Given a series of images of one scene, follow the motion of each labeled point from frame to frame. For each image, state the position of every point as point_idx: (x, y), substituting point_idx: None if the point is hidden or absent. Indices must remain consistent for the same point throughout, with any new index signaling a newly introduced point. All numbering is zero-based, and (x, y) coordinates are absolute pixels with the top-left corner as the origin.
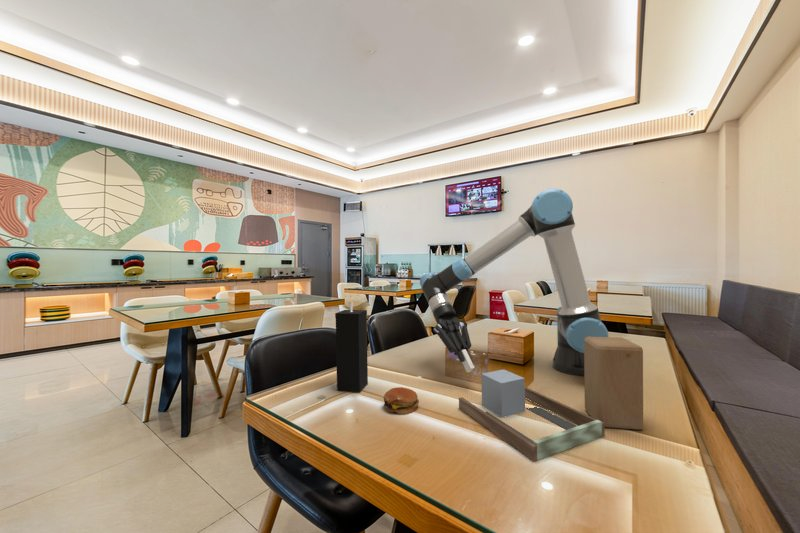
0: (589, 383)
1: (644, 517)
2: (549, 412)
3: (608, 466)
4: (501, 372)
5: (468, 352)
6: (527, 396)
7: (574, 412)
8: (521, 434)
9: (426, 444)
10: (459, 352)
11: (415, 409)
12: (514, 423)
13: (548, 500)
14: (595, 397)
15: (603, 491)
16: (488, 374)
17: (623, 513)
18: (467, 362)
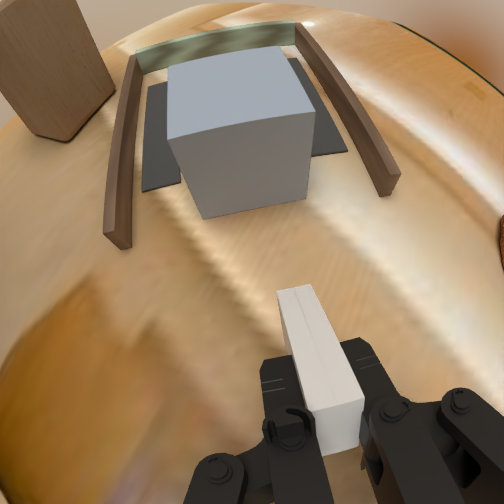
0: (61, 64)
1: (244, 5)
2: (145, 130)
3: None
4: (207, 109)
5: (271, 409)
6: (127, 197)
7: (131, 82)
8: None
9: (459, 104)
10: (385, 390)
11: (501, 219)
12: None
13: (319, 17)
14: (92, 57)
15: (251, 16)
16: (285, 98)
17: (258, 7)
18: (323, 315)
